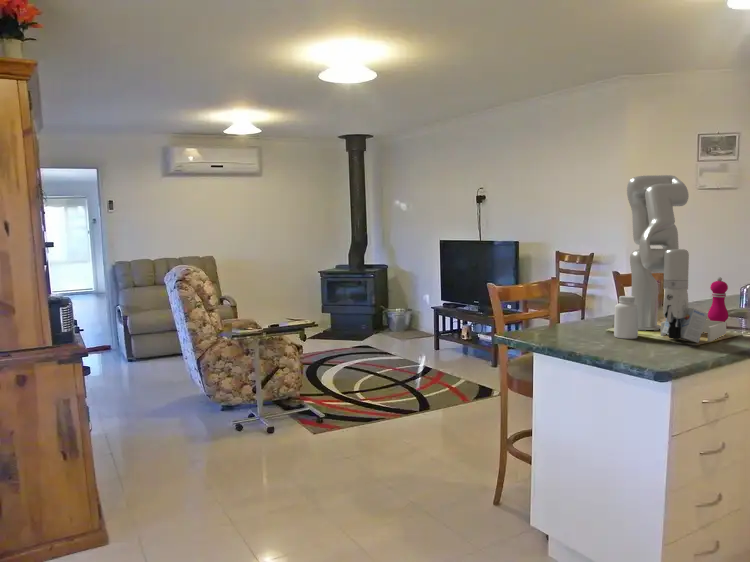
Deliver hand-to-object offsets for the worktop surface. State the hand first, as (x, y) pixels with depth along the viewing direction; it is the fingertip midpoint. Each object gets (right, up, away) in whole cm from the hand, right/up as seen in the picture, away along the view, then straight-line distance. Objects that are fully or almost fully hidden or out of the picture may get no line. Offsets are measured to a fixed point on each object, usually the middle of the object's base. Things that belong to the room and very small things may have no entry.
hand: (674, 338), depth 199 cm
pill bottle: (-12, -1, +12) cm, 17 cm away
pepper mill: (+34, +1, +33) cm, 48 cm away
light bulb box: (+4, -1, +4) cm, 5 cm away
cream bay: (+14, -1, +14) cm, 19 cm away
